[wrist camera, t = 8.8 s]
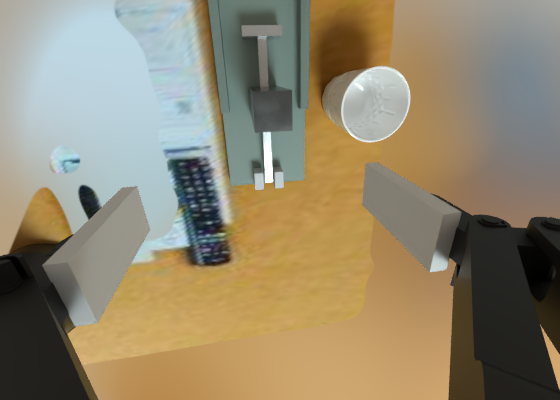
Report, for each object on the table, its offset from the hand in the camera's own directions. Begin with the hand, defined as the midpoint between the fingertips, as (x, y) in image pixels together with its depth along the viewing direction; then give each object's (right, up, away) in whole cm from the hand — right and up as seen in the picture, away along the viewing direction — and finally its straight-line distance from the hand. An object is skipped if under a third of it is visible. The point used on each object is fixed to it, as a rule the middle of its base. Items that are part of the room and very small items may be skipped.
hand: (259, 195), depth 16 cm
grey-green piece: (-1, +17, +19) cm, 26 cm away
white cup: (+10, +14, +23) cm, 29 cm away
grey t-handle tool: (-1, +11, +20) cm, 23 cm away
